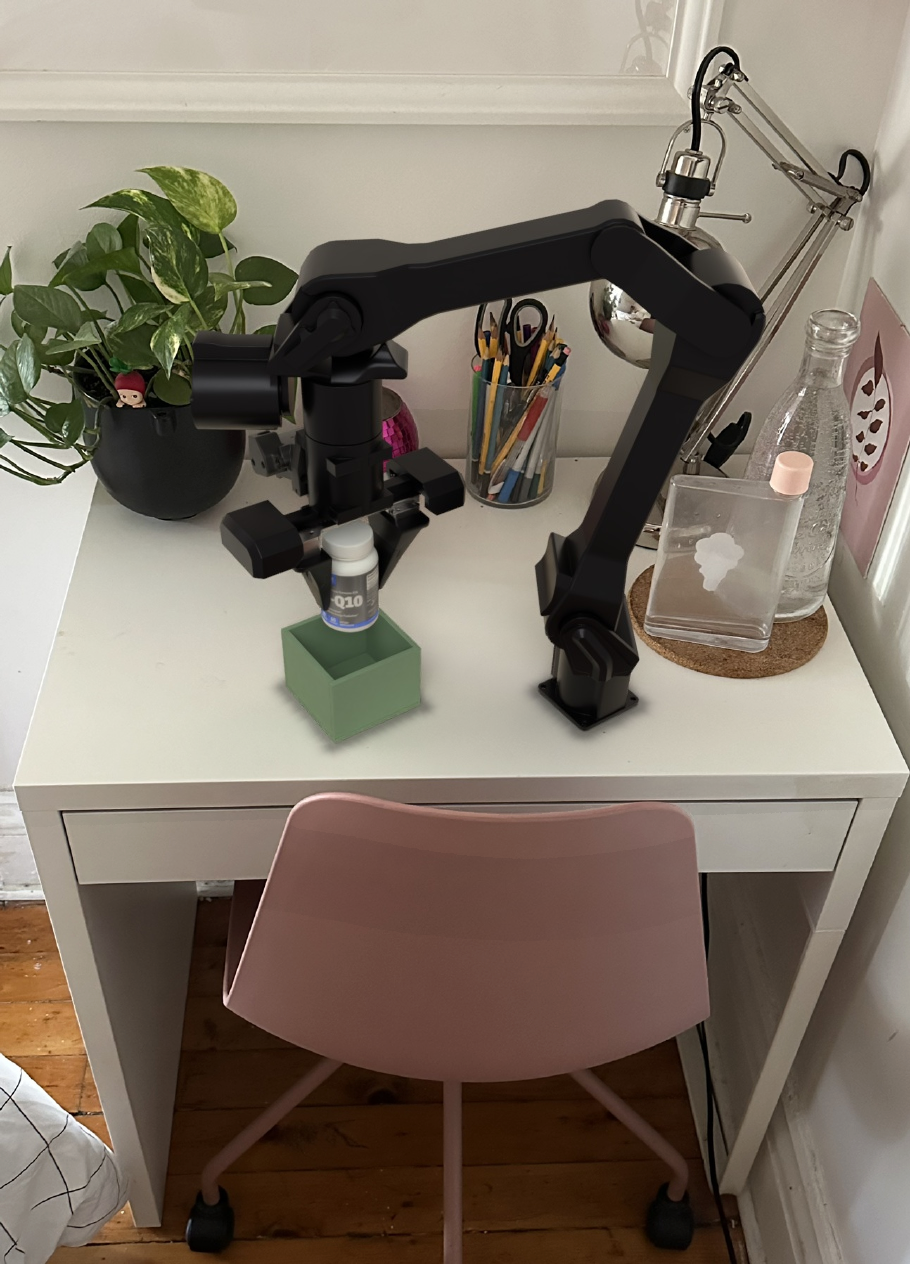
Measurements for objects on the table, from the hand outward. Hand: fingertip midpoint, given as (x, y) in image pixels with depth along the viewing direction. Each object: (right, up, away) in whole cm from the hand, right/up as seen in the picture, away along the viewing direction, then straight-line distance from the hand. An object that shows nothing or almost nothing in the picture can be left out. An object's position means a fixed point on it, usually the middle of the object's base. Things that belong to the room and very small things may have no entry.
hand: (350, 597), depth 92 cm
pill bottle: (0, -2, +1) cm, 2 cm away
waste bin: (0, -8, +7) cm, 11 cm away
